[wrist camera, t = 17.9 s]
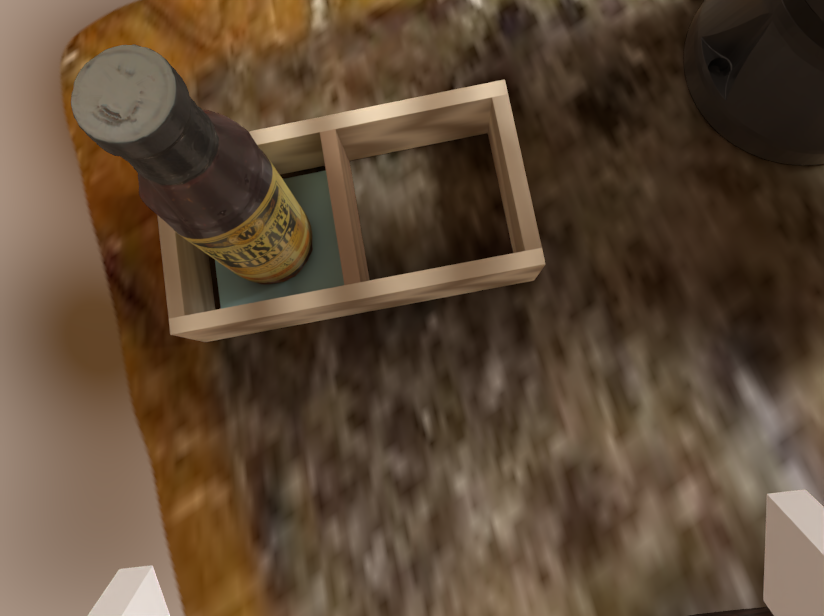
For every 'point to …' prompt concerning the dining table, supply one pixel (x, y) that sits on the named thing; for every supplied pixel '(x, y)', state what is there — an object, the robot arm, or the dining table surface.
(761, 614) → the manual coffee grinder
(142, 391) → the dining table surface
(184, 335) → the birch caddy
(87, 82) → the sauce bottle
